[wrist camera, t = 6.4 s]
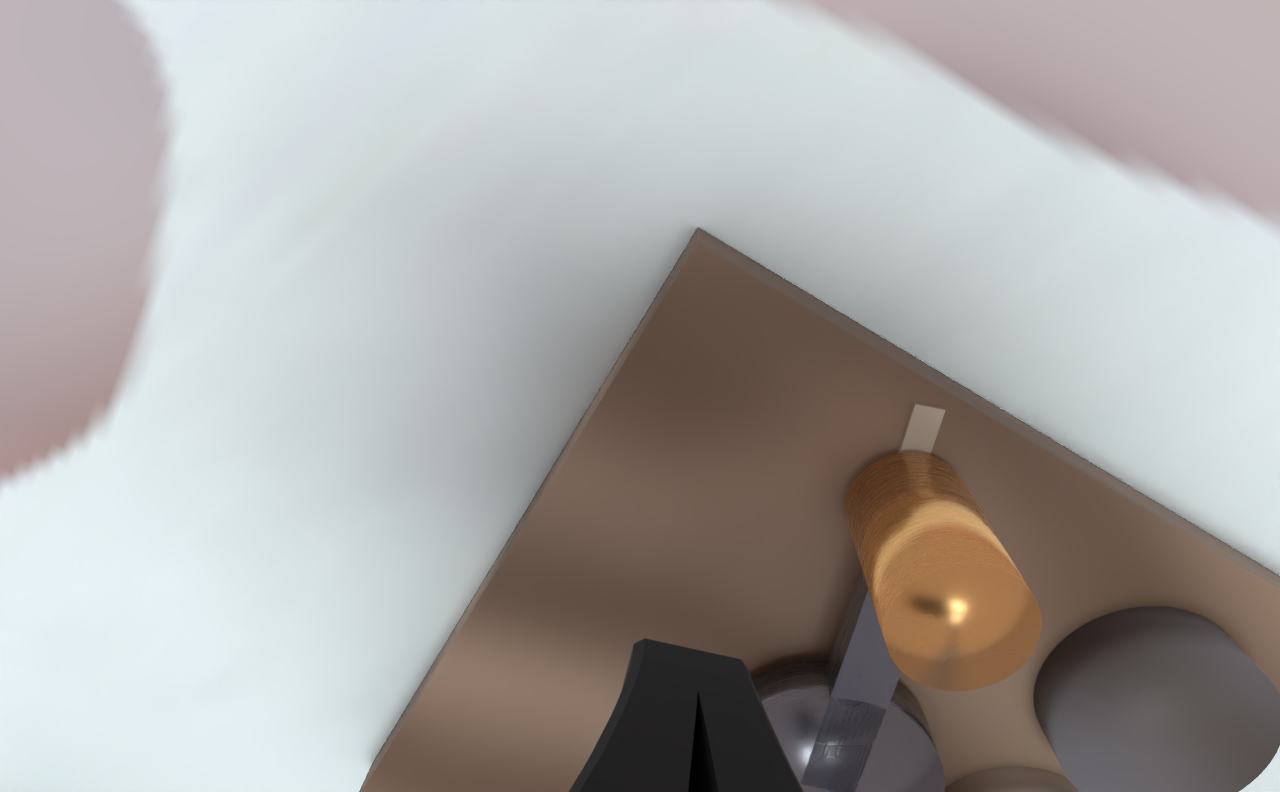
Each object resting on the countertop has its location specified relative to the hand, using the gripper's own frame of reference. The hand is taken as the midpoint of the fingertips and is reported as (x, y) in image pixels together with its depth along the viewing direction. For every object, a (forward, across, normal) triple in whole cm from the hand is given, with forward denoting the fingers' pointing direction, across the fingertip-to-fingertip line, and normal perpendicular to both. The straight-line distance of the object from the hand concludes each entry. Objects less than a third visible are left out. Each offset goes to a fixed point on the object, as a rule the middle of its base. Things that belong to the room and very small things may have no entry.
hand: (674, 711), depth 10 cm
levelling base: (+9, -5, +6) cm, 12 cm away
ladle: (+7, -5, +4) cm, 9 cm away
